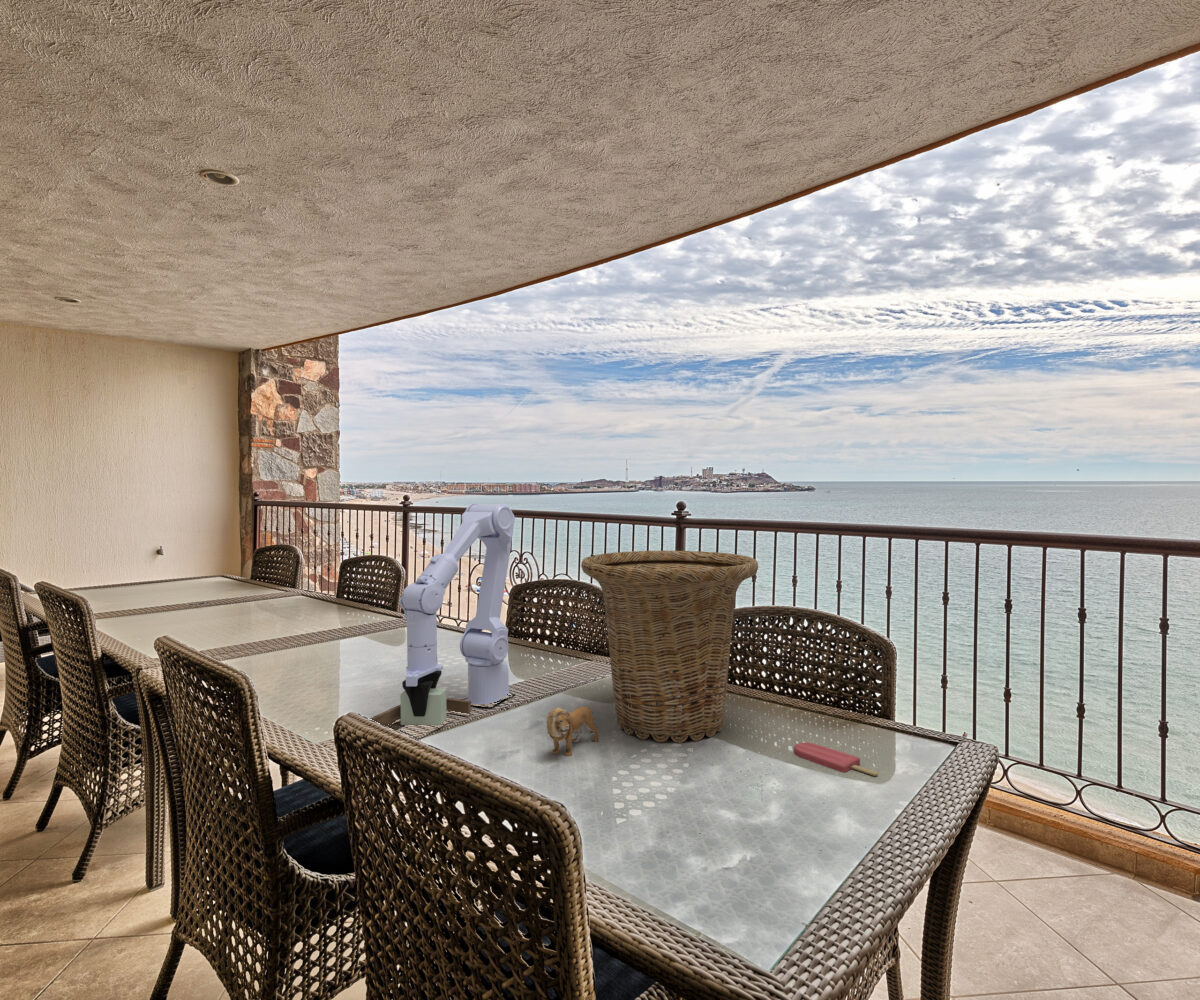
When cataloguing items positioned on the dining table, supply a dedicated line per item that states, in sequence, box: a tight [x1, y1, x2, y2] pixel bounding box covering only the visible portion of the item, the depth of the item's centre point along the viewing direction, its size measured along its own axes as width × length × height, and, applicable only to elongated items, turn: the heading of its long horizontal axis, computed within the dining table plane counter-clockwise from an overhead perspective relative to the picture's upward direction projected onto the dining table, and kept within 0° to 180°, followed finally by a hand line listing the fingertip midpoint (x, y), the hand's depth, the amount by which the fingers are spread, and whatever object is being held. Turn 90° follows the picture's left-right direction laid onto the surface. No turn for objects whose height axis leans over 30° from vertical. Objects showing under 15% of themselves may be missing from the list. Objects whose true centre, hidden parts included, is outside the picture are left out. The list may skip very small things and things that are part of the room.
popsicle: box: [793, 742, 879, 777], centre depth 114 cm, size 5×2×15 cm
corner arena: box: [369, 697, 472, 740], centre depth 134 cm, size 16×12×3 cm
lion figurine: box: [546, 706, 599, 757], centre depth 121 cm, size 15×5×9 cm, turn 153°
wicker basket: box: [580, 550, 759, 744], centre depth 133 cm, size 35×35×33 cm
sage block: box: [400, 688, 448, 726], centre depth 132 cm, size 4×8×6 cm, turn 88°
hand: (422, 711), depth 132 cm, fingers closed on sage block, 4 cm apart
